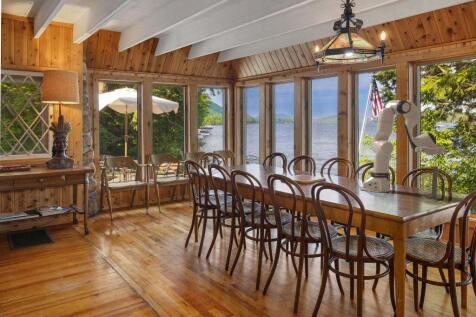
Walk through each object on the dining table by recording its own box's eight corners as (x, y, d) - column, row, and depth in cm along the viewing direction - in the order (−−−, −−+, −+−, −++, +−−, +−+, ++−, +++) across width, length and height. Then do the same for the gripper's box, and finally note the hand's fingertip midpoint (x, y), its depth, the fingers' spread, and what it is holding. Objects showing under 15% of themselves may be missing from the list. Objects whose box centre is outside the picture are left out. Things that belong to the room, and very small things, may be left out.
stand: (426, 198, 263) (427, 166, 260) (427, 195, 272) (429, 165, 270) (441, 199, 258) (442, 167, 256) (442, 196, 267) (443, 165, 265)
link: (420, 194, 274) (421, 175, 273) (421, 193, 279) (422, 174, 277) (430, 195, 271) (430, 175, 270) (430, 193, 275) (431, 174, 274)
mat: (419, 195, 274) (419, 194, 274) (420, 193, 281) (420, 192, 281) (431, 196, 270) (431, 195, 270) (432, 194, 277) (432, 193, 277)
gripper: (416, 145, 300) (414, 145, 288) (445, 146, 289) (444, 146, 278) (415, 152, 301) (413, 154, 289) (445, 154, 290) (444, 155, 278)
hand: (429, 150), depth 283 cm, fingers open, 8 cm apart
